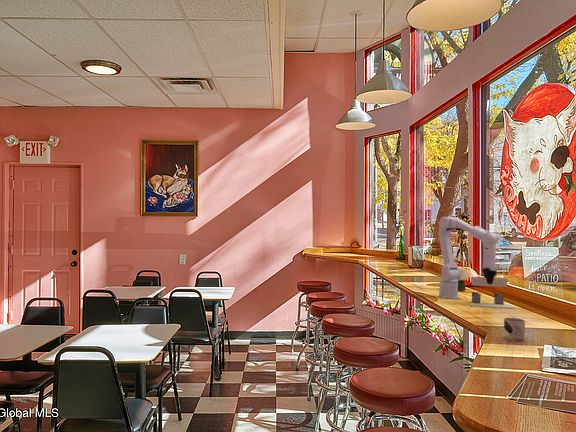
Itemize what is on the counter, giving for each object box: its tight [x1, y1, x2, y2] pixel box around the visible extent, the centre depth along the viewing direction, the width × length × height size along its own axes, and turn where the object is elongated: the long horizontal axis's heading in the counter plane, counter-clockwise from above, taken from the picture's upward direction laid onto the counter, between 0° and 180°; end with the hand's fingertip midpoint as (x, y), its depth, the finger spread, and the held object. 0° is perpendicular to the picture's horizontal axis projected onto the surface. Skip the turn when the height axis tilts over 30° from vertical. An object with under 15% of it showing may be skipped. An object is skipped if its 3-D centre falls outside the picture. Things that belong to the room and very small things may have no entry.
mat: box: [468, 302, 516, 310], centre depth 230 cm, size 20×7×1 cm, turn 79°
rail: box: [471, 276, 508, 288], centre depth 236 cm, size 16×3×4 cm, turn 80°
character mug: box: [458, 268, 471, 291], centre depth 282 cm, size 11×7×13 cm, turn 80°
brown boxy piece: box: [471, 291, 482, 303], centre depth 239 cm, size 3×6×5 cm, turn 169°
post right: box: [493, 292, 505, 305], centre depth 237 cm, size 3×6×5 cm, turn 169°
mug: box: [503, 317, 526, 342], centre depth 165 cm, size 10×7×7 cm
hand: (489, 283), depth 236 cm, fingers closed on rail, 3 cm apart
